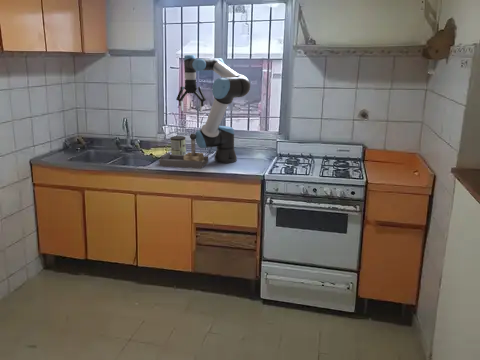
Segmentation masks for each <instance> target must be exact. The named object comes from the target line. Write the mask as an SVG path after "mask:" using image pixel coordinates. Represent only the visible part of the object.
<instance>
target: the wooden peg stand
mask: <svg viewBox="0 0 480 360" xmlns="http://www.w3.org/2000/svg"><path fill="white" fill-rule="evenodd" d="M189 138H190V145H191V148H190V150H191V152H186V155H184V160H186V161H203V156H204V152H196V139H195V138H196V135H195V133H191V134H190V135H189Z"/></svg>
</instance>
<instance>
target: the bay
mask: <svg viewBox="0 0 480 360" xmlns="http://www.w3.org/2000/svg"><path fill="white" fill-rule="evenodd" d="M158 163H159V164H158V165H159V167H170V166H174V167H173V168H188V167H192V168H191V169H202V168H203V167H205V166H206V165H207V164H208V163H209V156H207V155H203V161H186V160H184V155H172V154H171V153H170V152H166V153H165V154H162V155H160V159H159V162H158Z"/></svg>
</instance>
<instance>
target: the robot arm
mask: <svg viewBox="0 0 480 360" xmlns="http://www.w3.org/2000/svg"><path fill="white" fill-rule="evenodd" d="M183 63H184V64H183V66H184V69H183V70H184V86H183V85H182V86H180V87H179V88H180V89H179V92H178V94H177V96H176V101H178V104H179V105H178V107H179V106H180V112H183V111H184V101H183V99H184V98H185V97H186V96H187V94H194V96H196V97H197V99H198V100H199V112H201V113H202V112H203V107H204V102H205V101H207V98H206V96H205V94H204V92H203V90H202V87H201V86H197V72H201V71H213V72H214V73H216V74H217V75H219V76H220V78H217V79H215V80H214V81H213V84H212V86H211V88H212V90H211V92H212V96H213V98H214V101H213V103H212V105H211V108H210V111H209V114H208V116H207V119H206V122H205V124H203V125H202V126H201V128H200V129H199V130H196V131H195V133H194V134H195V135H196V138H195V144H196V145H197V146H198V148H200V149H207V148H209V149H210V148H215V147H216V151H215V154H214V162H215V163H219V164H229V163H235V162H236V161H237V158H238V157H237V154H236V151H235V129H234V128H233V127H231V126H228V125H227V126H225V125H221V123H222V120H223V118H224V116H225V113H226V112H227V109H228V105H230V104H232V102H233V100H234V98H242V97H243V98H244V97H245V96H247V94H248V93H250V90H251V83H250V82H251V81H250V80H249V79H248V78H247V76H245V75H243V74H240V73H238V72H236V71H235V70H233V69H232V68H230V67H229V66H228V65H226V64H225V62H224V60H223V58H220V57H219V58H218V57H214V58H212V57H210V58H208V57H207V58H196V55H194V54H189V55H188V54H186V55H184V57H183ZM184 90H185V91H184ZM183 91H184V93H183Z"/></svg>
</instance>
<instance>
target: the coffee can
mask: <svg viewBox="0 0 480 360" xmlns="http://www.w3.org/2000/svg"><path fill="white" fill-rule="evenodd" d="M169 138H170V149H171V150H170V152H171V153H170V154H172V155H186V154H187V150H186V149H187V147H186V142H187V141H186V139H187V138H186V137H185V135H184V136H183V135H176V136H175V135H174V136H170V137H169Z"/></svg>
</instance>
